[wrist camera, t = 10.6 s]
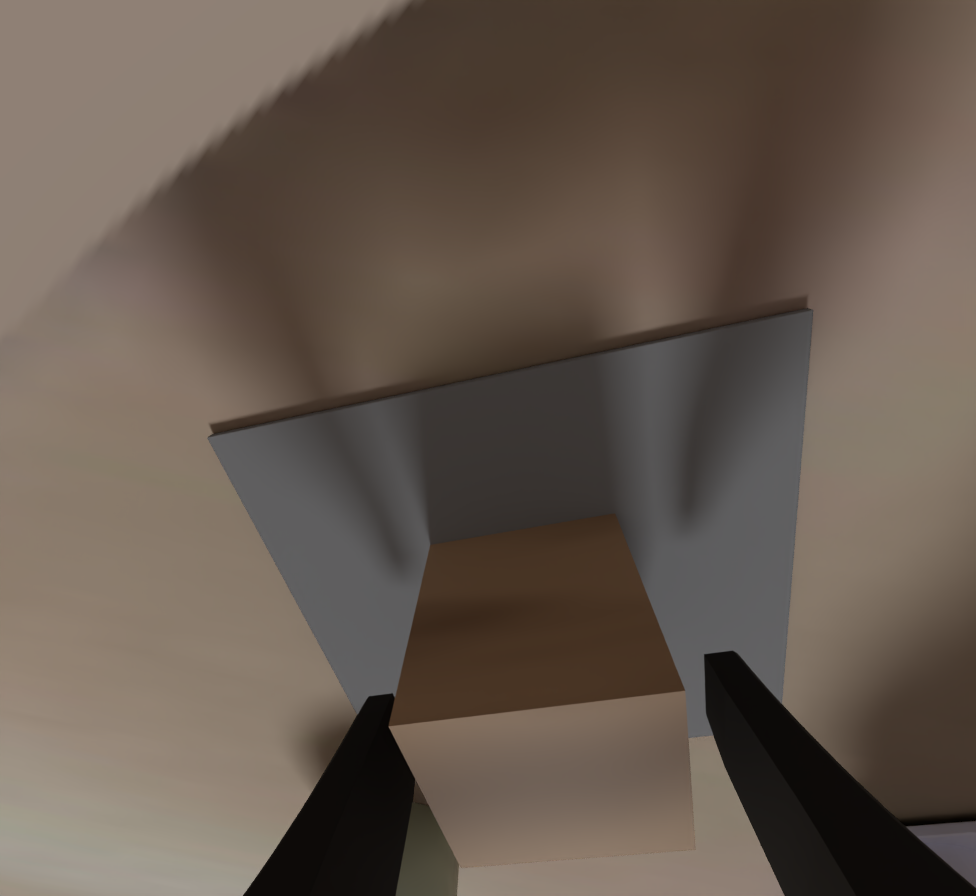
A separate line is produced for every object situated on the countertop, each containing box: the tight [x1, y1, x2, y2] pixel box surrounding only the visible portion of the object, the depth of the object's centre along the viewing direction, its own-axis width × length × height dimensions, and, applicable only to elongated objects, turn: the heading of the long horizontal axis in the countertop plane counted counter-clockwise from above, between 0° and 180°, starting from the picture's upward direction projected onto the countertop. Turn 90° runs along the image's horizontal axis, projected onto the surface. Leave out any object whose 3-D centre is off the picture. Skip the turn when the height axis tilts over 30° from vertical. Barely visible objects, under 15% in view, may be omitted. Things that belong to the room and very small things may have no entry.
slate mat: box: [208, 308, 813, 738], centre depth 13 cm, size 14×14×1 cm
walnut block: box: [388, 513, 696, 868], centre depth 11 cm, size 5×5×5 cm
